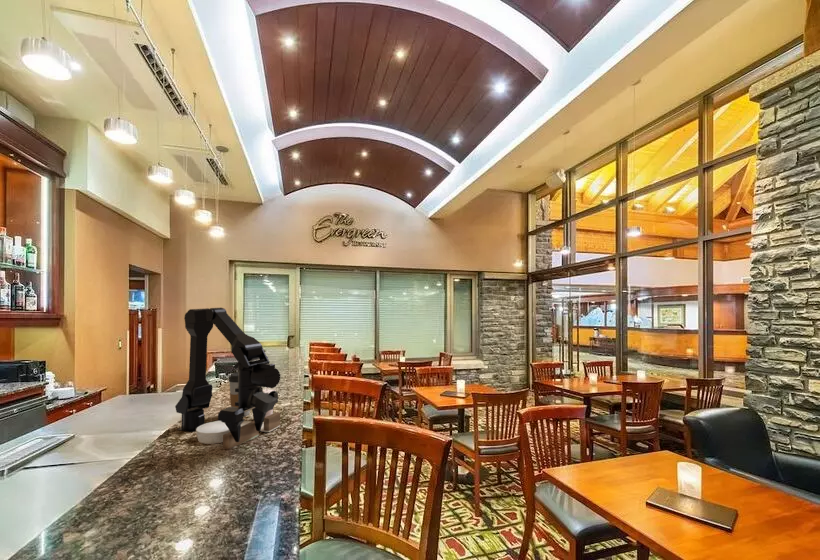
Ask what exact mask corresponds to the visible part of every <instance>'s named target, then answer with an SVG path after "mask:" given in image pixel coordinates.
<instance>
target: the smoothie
mask: <svg viewBox="0 0 820 560" xmlns="http://www.w3.org/2000/svg"><path fill="white" fill-rule="evenodd" d="M272 391H276V392H277V390H276V389H274V388H267V387H266V389H263V392H264V393H268V394H269V393H270V392H272ZM273 412H274V408H273V409H272V410H269V411H268V412H267V413H266V415H265V417H267V416H269V415H271V414H273Z"/></svg>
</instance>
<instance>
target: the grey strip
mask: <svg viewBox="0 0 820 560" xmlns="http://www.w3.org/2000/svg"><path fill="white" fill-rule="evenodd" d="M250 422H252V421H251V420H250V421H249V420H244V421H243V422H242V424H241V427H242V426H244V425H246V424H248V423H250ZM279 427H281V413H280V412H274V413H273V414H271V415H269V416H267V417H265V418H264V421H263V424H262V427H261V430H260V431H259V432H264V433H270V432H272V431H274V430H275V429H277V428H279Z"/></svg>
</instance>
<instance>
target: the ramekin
mask: <svg viewBox="0 0 820 560" xmlns="http://www.w3.org/2000/svg"><path fill="white" fill-rule="evenodd" d="M229 432H230V431H229V429H228V427H227V426H226V424H225V423H224V422H221V421H218V420H215V421H210V422H206V423H205V424H203V425H201V426H199V427H198V428H197V429H196V431H195V433H196V437H197V441H198V442H199V443H201V444H206V445H207V444H209V445H210V444H211V445H212V444H213V445H214V444H221V443H222V444H223V435H224V434H227V433H229Z"/></svg>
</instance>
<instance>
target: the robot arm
mask: <svg viewBox="0 0 820 560" xmlns="http://www.w3.org/2000/svg"><path fill="white" fill-rule="evenodd" d="M214 326H215V327H216V328H217V330H218V331H219V332H220V334H222V335H223V337H224V338H225V339H226V340H227V341H228V343H229V345H231V348H230V350H231V352H230V353H232V355H233V356H234V359H236V363H235V364H234V365H233V368H234V369H237V370H238V371H237V372H238V388H235V392H238V401H237V402H235V406H239V408H234V407H231V406H228V407H225V408H224V409H221V410H220V411H218V414H217V421H221V422H224V423H225V424H226V426H227V427H228V429H229V431H230V432H231V434H232V436H233V438H234V440H235V442H239V440H240V431H241V424H242V422H243V421H246V419H244V417H245V416H244V412H247V411H249V410H250V411H252V415H253V416H252V417H253V421H254V422H255V427H256V430H257V431H259V432H261V431H260V430H261V427H262V424H263V423H264V418H265V415H266V413H267V412H268V411H269V410H272V409H273V410H274V407H275V405H276V404H277V403H278V402H279V394H278V391H277V390H276V391H272V392H270V393H269V394H268V393H264V392H263V390H264V389H263V388H266V389H267V388H268V389H274V388H275V387H277V385H278V386H279V383H280V381H281V374H280V371H279V369H278V368H276V364H275V363H270V360H269V356H268V355H267V354H266V352H265V350H264V347H263V344H262V343H261V342H260V341H258V340H257V339H256V338H255V337H252V336H250V335H248V334H246V333H245V332H244V331H243V330H242V329H241V328H240V326H239V325H237V323H236V322H235V321H234V320H233V318H232V317H230V315H229V314H228V313H227V310H226V308H224V307H210V308H208V307H207V308H190V309H188V310H187V312H185V314H184V327H185V329H186V331H187V333H188V334H189V336H190V342H189V343H190V344H189V367H188V368H189V369H188V370H189V371H188V380H187V382H186V384H185V385H184V387H183V389H182V395H181V397H180V399H179V400H178V402H177V403H176V405H175V406H174V407H175V412H176V413H177V414H181V427H180V428H177V431H179V430H180V431H181V432H186V433H196V429H197V428H198V427H199V426H201V425H203V424H206V423H205V422H206V421H205V419H206V416H205V409H208V408H209V407H210V404H211V400H212V397H213V385H212V383H211V384H210V383H209V382H208V380H207V361H208V359H207V358H208V356H207V355H208V336H209V335H210V333H211V331H212V330H213V328H214ZM245 408H246V409H245ZM180 431H179V432H180Z"/></svg>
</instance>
